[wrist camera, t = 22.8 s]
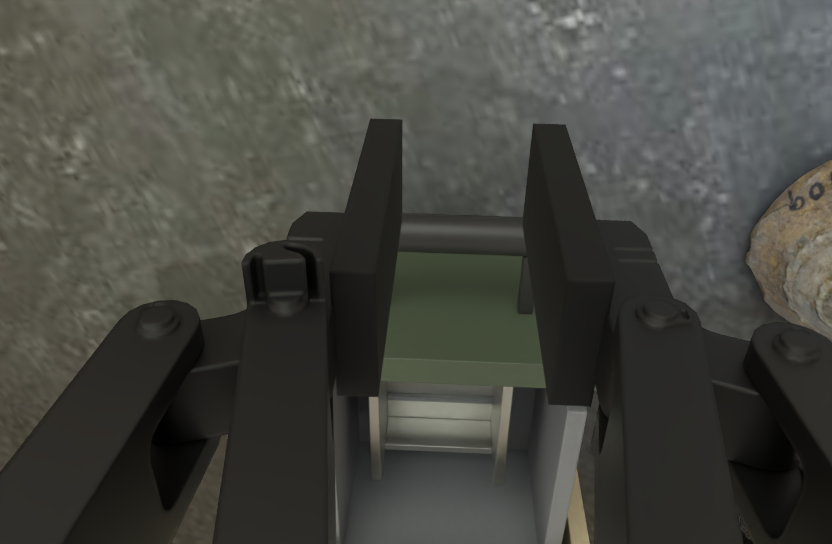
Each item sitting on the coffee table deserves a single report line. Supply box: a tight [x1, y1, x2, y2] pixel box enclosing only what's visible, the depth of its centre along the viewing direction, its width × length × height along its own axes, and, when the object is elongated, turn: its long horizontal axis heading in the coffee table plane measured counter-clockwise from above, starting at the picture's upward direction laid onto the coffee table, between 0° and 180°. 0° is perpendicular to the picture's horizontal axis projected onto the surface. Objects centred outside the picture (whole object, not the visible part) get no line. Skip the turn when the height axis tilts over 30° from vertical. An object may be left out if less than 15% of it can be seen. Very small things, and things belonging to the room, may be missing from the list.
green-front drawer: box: [333, 213, 597, 544], centre depth 33 cm, size 18×12×9 cm
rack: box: [368, 381, 514, 485], centre depth 36 cm, size 6×7×4 cm
